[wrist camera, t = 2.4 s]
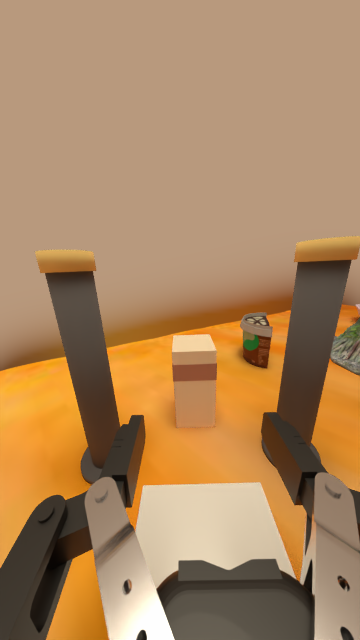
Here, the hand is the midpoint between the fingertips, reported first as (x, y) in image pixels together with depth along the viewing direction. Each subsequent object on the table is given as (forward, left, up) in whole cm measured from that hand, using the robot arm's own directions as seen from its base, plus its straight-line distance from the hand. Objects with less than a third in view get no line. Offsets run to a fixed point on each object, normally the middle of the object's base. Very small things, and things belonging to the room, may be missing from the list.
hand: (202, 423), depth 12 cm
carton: (0, -13, -12) cm, 18 cm away
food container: (-16, -30, -12) cm, 36 cm away
